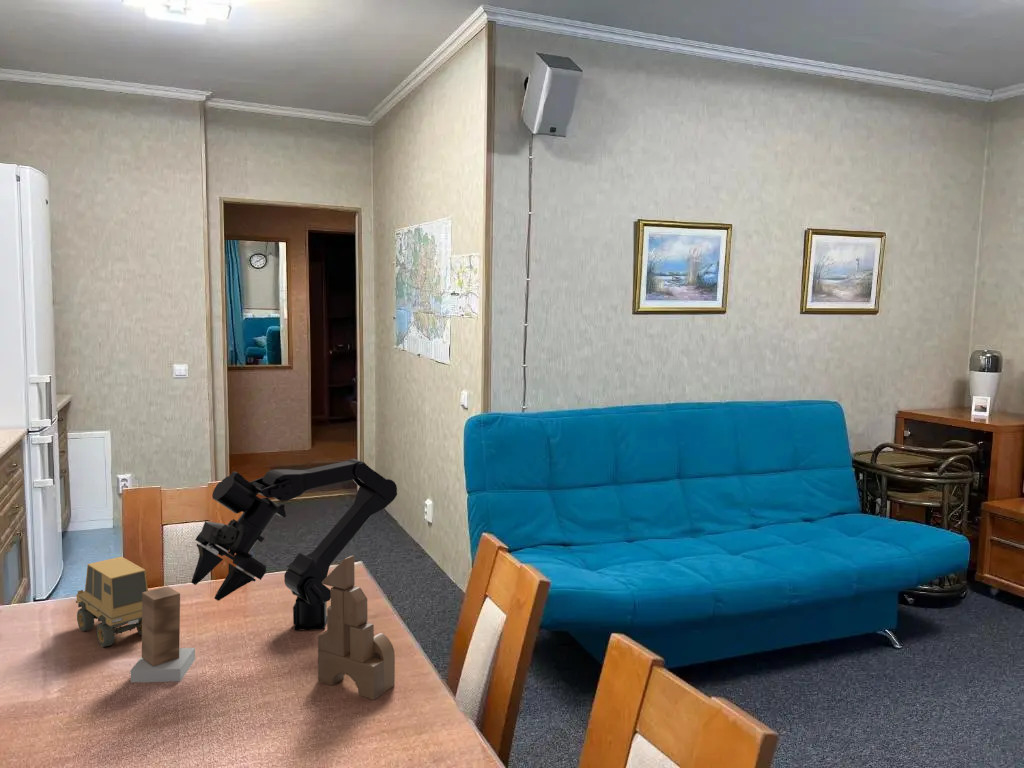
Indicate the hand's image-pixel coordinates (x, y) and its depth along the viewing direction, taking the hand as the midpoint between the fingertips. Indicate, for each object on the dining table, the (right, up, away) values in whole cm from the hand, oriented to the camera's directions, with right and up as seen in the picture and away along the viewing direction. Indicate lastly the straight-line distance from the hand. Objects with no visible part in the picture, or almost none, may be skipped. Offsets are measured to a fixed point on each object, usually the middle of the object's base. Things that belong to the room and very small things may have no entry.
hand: (204, 591), depth 157 cm
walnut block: (-6, -11, -5) cm, 14 cm away
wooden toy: (+32, -15, -8) cm, 36 cm away
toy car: (-24, -12, +12) cm, 29 cm away
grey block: (-6, -15, -5) cm, 16 cm away
